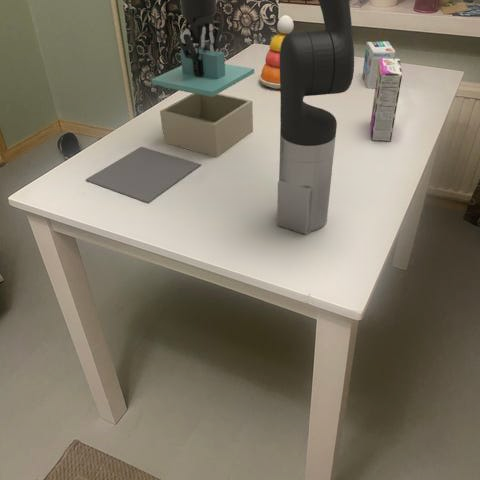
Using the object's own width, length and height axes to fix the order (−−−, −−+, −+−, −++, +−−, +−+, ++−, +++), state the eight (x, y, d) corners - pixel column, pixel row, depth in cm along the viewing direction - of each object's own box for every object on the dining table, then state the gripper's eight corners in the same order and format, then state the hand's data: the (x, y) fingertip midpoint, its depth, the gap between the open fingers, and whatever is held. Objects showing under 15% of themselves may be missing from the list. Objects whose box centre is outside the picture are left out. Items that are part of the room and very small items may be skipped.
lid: (213, 101, 100) (211, 67, 96) (152, 88, 108) (147, 56, 103) (254, 77, 111) (253, 46, 107) (196, 67, 119) (194, 38, 115)
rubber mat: (148, 203, 95) (148, 202, 94) (85, 180, 103) (85, 179, 102) (201, 165, 106) (200, 164, 106) (141, 147, 114) (141, 146, 114)
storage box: (217, 157, 109) (215, 125, 104) (164, 142, 116) (159, 111, 111) (252, 131, 120) (252, 100, 115) (202, 118, 127) (199, 89, 122)
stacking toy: (270, 94, 139) (271, 24, 127) (252, 79, 150) (251, 13, 138) (313, 87, 143) (317, 18, 131) (292, 73, 154) (294, 8, 142)
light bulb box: (361, 76, 149) (366, 41, 142) (382, 76, 149) (388, 40, 142) (367, 89, 141) (372, 51, 134) (390, 88, 140) (396, 51, 134)
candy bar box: (369, 122, 122) (378, 57, 112) (389, 123, 121) (400, 58, 111) (369, 141, 113) (380, 72, 103) (391, 142, 113) (403, 73, 102)
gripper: (191, -3, 91) (198, 85, 102) (230, -15, 101) (233, 67, 111) (161, -6, 95) (171, 80, 105) (202, -17, 104) (208, 63, 114)
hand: (203, 73), depth 108 cm, fingers closed on lid, 3 cm apart
